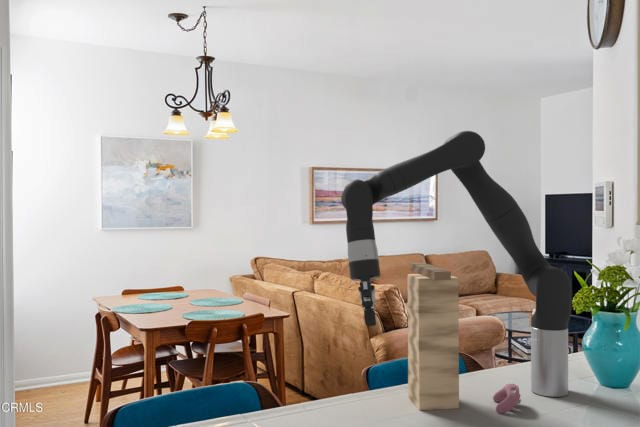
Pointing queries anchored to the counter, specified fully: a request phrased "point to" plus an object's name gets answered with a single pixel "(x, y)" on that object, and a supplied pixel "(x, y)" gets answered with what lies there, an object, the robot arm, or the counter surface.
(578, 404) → the counter surface
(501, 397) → the pink curved piece
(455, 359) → the wooden block tower
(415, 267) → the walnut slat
